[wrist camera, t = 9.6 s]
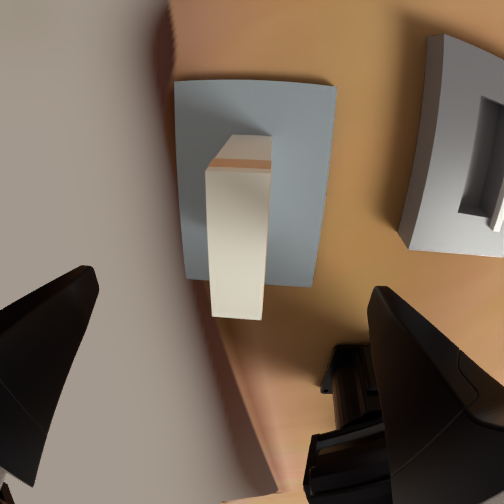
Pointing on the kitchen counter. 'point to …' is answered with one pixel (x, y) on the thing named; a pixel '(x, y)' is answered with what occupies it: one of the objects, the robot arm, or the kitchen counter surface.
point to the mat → (282, 168)
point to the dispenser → (458, 154)
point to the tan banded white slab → (238, 225)
